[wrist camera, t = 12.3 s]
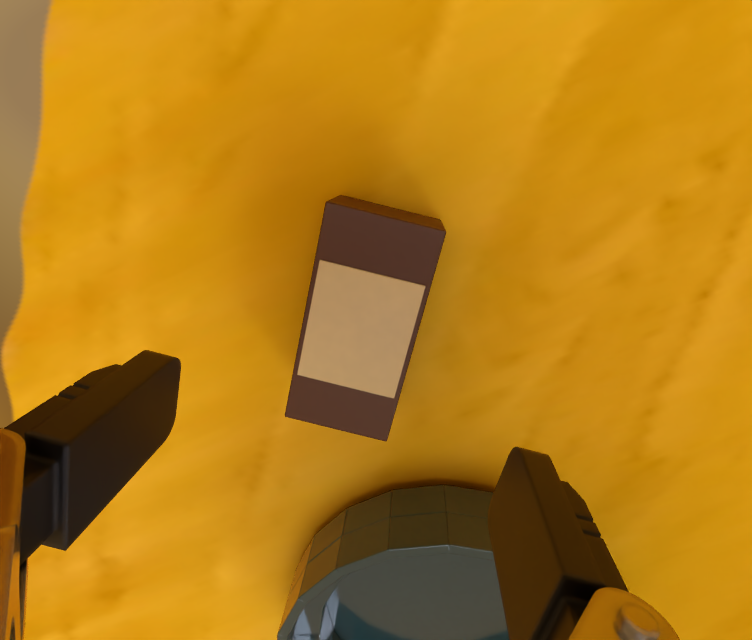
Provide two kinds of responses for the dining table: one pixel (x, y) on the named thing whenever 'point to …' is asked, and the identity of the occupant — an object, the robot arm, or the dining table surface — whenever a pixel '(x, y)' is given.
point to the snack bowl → (400, 572)
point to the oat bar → (362, 315)
